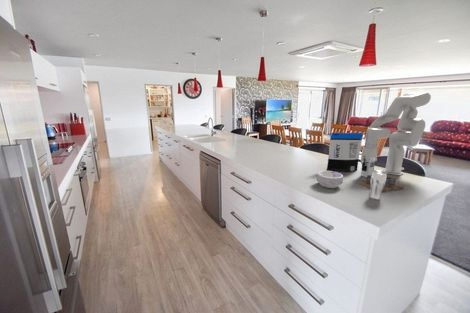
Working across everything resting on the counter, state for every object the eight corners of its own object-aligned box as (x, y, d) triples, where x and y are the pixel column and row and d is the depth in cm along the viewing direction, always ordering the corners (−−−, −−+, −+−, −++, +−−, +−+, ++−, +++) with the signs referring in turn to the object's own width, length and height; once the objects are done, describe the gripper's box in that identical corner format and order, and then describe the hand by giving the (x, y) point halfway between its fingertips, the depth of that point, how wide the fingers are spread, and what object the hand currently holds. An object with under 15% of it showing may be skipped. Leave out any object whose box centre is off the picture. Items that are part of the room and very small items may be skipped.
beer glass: (364, 195, 121) (368, 170, 118) (376, 194, 122) (380, 169, 118) (373, 200, 114) (378, 174, 111) (385, 200, 115) (390, 173, 111)
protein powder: (360, 172, 165) (366, 133, 158) (329, 171, 165) (333, 133, 158) (353, 168, 174) (359, 132, 167) (324, 168, 174) (328, 132, 167)
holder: (378, 180, 146) (380, 172, 145) (403, 188, 132) (405, 179, 130) (357, 183, 140) (358, 174, 138) (380, 192, 125) (382, 183, 123)
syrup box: (368, 177, 150) (371, 158, 147) (360, 175, 155) (362, 156, 152) (372, 176, 153) (375, 157, 150) (364, 174, 158) (367, 155, 155)
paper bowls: (311, 183, 139) (312, 172, 137) (328, 180, 145) (329, 169, 143) (329, 191, 126) (330, 179, 124) (347, 188, 131) (349, 176, 130)
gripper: (374, 144, 155) (371, 167, 159) (357, 145, 150) (354, 170, 154) (384, 146, 148) (380, 170, 153) (366, 147, 143) (363, 173, 147)
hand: (367, 170), depth 153 cm, fingers closed on syrup box, 6 cm apart
